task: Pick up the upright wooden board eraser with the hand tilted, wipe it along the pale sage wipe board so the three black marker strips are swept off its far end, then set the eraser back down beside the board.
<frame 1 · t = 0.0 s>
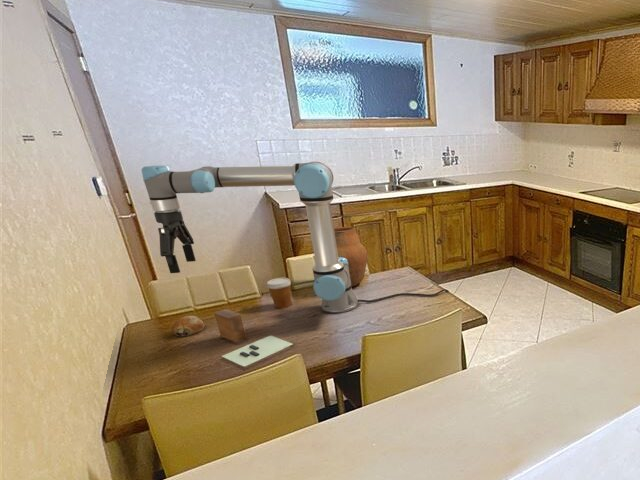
hand: (183, 266, 160), 28 cm above the table, tool pointing down, fingers open, 13 cm apart
wipe board: (258, 352, 156), on the table
smudge 1: (254, 348, 157), point 1 cm above the table, touching wipe board
eraser: (234, 339, 165), on the table
disposable coffee cup: (283, 305, 195), on the table
bread roll: (189, 331, 171), on the table
pot: (346, 285, 220), on the table
smudge 2: (254, 354, 153), point 1 cm above the table, touching wipe board
smudge 3: (244, 355, 152), point 1 cm above the table, touching wipe board
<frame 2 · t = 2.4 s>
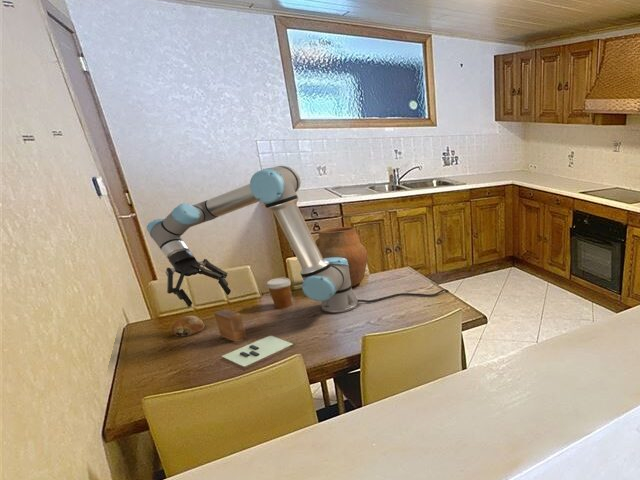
hand: (210, 298, 164), 15 cm above the table, tool tilted 45°, fingers open, 13 cm apart
nothing on the table moved.
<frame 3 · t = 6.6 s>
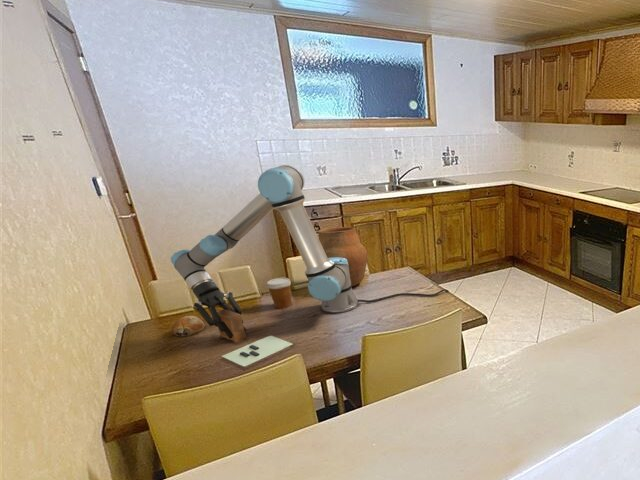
hand: (237, 334, 163), 3 cm above the table, tool tilted 45°, fingers closed on eraser, 4 cm apart
eraser: (234, 339, 165), on the table, touching gripper
everything else where it was.
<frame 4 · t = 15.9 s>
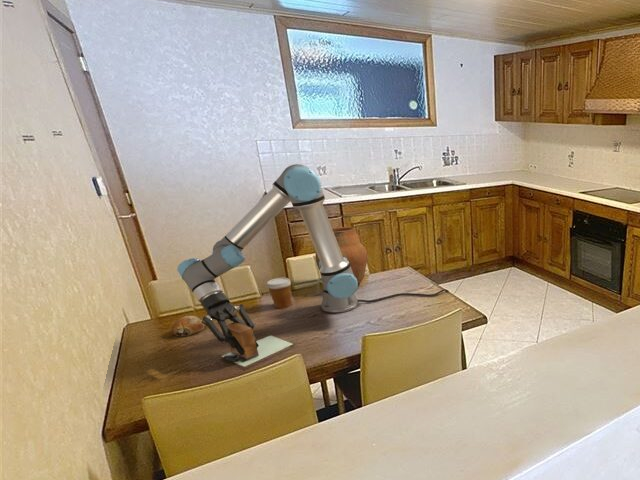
hand: (249, 350, 149), 4 cm above the table, tool tilted 45°, fingers closed on eraser, 4 cm apart
smudge 1: (230, 357, 151), point 1 cm above the table, touching wipe board
eraser: (245, 354, 152), point 1 cm above the table, touching gripper, smudge 2
smudge 2: (241, 360, 149), point 1 cm above the table, touching eraser, smudge 3
smudge 3: (233, 360, 149), point 1 cm above the table, touching smudge 2
everything else where it was.
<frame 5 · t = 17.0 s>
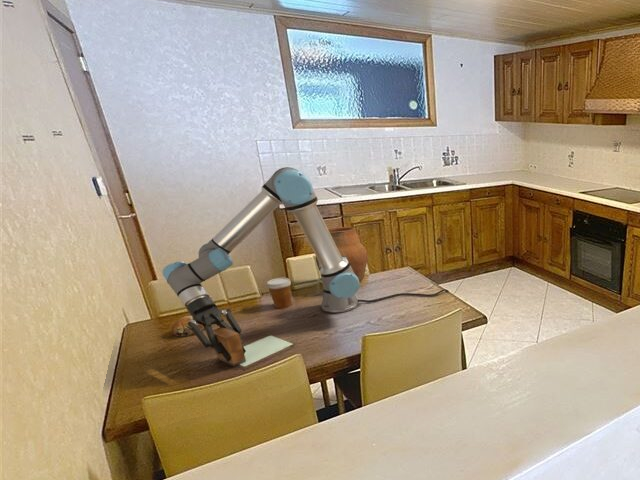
hand: (236, 356, 146), 4 cm above the table, tool tilted 45°, fingers closed on eraser, 4 cm apart
smudge 1: (224, 362, 149), on the table, tilted 25°, touching wipe board
eraser: (232, 360, 149), point 1 cm above the table, touching gripper
smudge 2: (233, 367, 147), on the table
smudge 3: (224, 366, 147), point 1 cm above the table, tilted 180°
everything else where it was.
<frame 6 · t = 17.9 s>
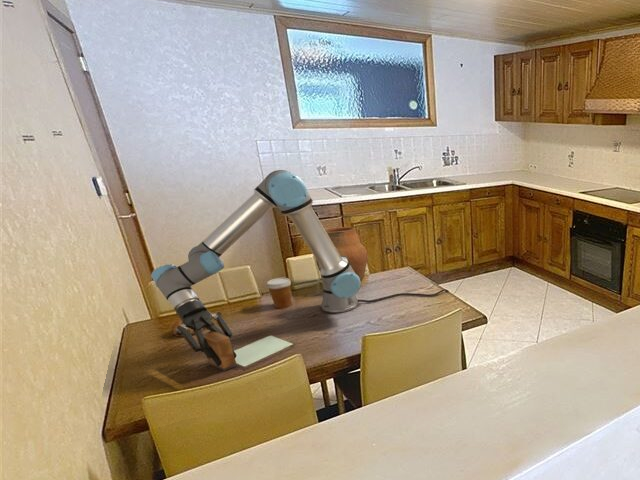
hand: (227, 360, 143), 4 cm above the table, tool tilted 45°, fingers closed on eraser, 4 cm apart
eraser: (222, 364, 146), point 1 cm above the table, touching gripper
everything else where it was.
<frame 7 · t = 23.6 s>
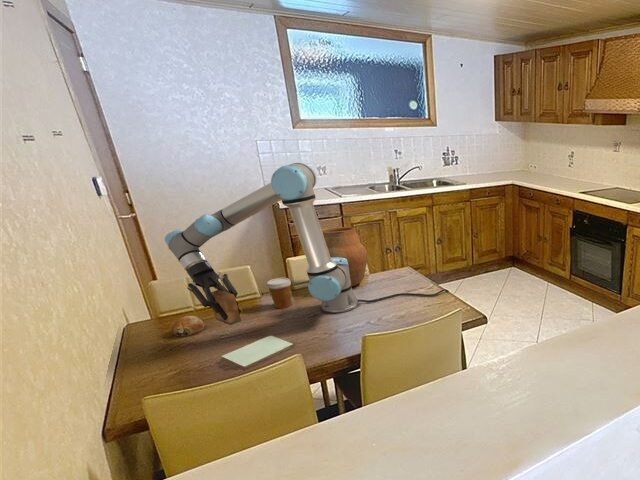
hand: (232, 315, 160), 11 cm above the table, tool tilted 45°, fingers closed on eraser, 4 cm apart
eraser: (228, 320, 163), point 8 cm above the table, touching gripper
everything else where it was.
when the fingers open (3 cm above the table, at t = 26.0 s): eraser stays where it is, on the table.
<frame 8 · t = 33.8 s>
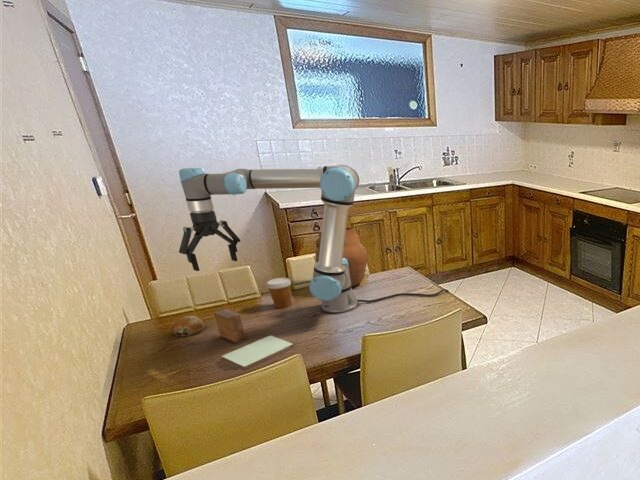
hand: (216, 265, 166), 27 cm above the table, tool pointing down, fingers open, 13 cm apart
eraser: (233, 338, 166), on the table
everything else where it was.
at the end: smudge 1 on the table; smudge 2 on the table; smudge 3 point 0.6 cm above the table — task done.
